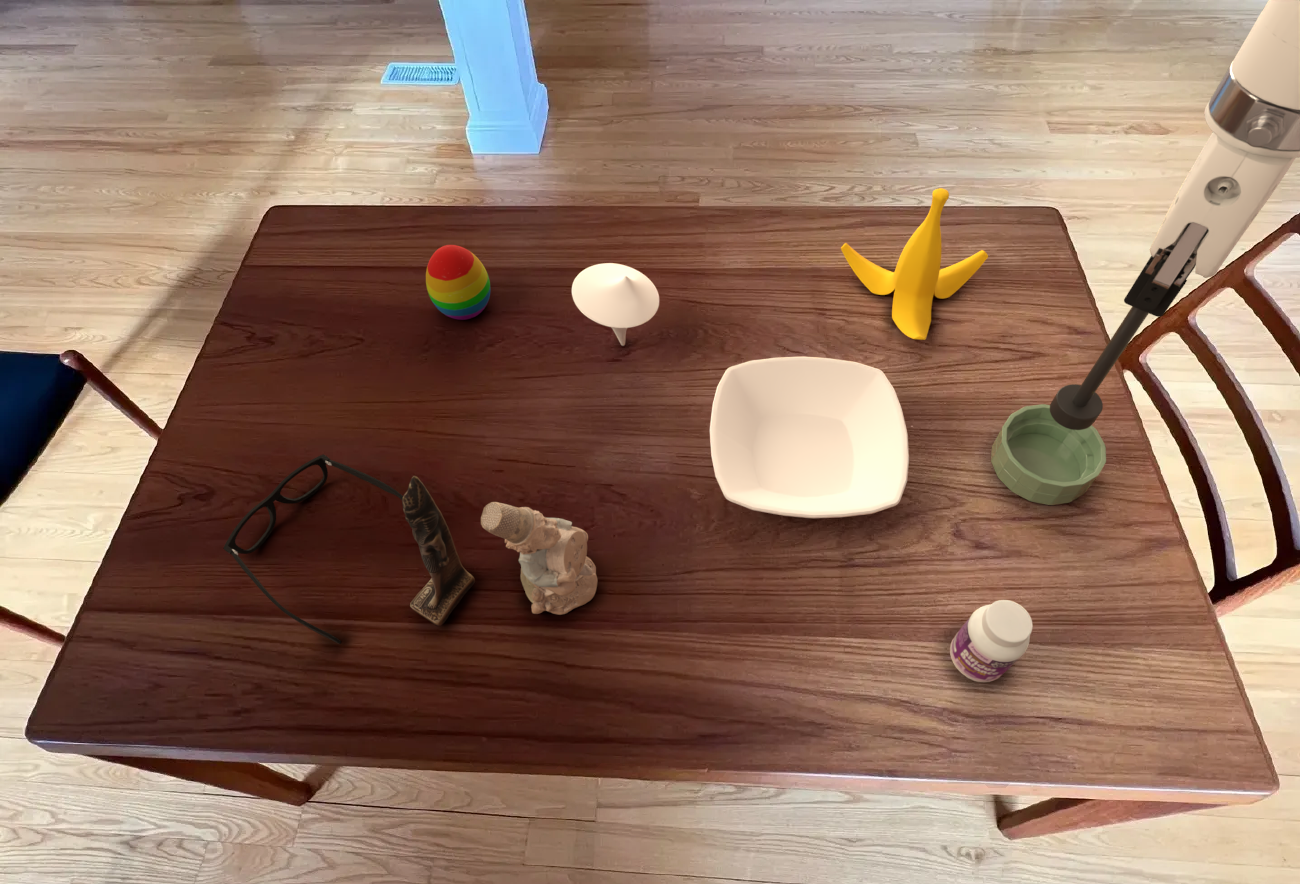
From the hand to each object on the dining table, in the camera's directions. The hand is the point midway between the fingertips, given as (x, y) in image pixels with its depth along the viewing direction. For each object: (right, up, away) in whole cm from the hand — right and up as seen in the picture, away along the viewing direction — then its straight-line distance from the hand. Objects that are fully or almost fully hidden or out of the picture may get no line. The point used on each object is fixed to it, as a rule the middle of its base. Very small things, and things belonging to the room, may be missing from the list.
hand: (1147, 299), depth 67 cm
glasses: (-78, -24, +21) cm, 84 cm away
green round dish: (+1, -15, +22) cm, 26 cm away
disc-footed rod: (+1, -9, +14) cm, 17 cm away
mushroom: (-46, 0, +35) cm, 58 cm away
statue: (-64, -28, +17) cm, 72 cm away
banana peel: (-8, +5, +36) cm, 38 cm away
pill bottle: (-10, -33, +10) cm, 36 cm away
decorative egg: (-68, +6, +41) cm, 79 cm away
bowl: (-25, -14, +24) cm, 37 cm away
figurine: (-52, -27, +17) cm, 61 cm away
